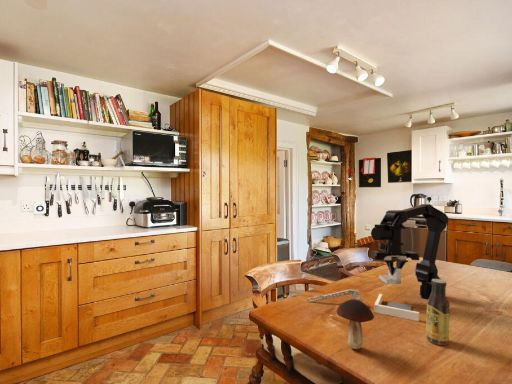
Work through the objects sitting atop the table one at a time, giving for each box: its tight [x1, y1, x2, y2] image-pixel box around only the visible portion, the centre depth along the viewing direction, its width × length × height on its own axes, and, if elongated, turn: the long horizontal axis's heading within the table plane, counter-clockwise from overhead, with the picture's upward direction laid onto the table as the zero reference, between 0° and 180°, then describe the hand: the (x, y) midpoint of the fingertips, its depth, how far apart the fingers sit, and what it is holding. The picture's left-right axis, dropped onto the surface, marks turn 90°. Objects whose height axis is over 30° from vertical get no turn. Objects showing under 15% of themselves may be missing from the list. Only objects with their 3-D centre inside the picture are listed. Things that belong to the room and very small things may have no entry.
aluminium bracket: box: [378, 263, 402, 285], centre depth 123 cm, size 8×6×6 cm
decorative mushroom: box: [336, 298, 375, 350], centre depth 87 cm, size 11×11×15 cm
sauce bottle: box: [425, 278, 450, 346], centre depth 91 cm, size 6×6×20 cm
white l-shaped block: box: [373, 293, 420, 322], centre depth 116 cm, size 16×15×3 cm
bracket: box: [306, 289, 364, 303], centre depth 122 cm, size 3×21×10 cm, turn 79°
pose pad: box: [386, 301, 412, 311], centre depth 116 cm, size 9×11×1 cm
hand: (394, 275), depth 123 cm, fingers closed on aluminium bracket
